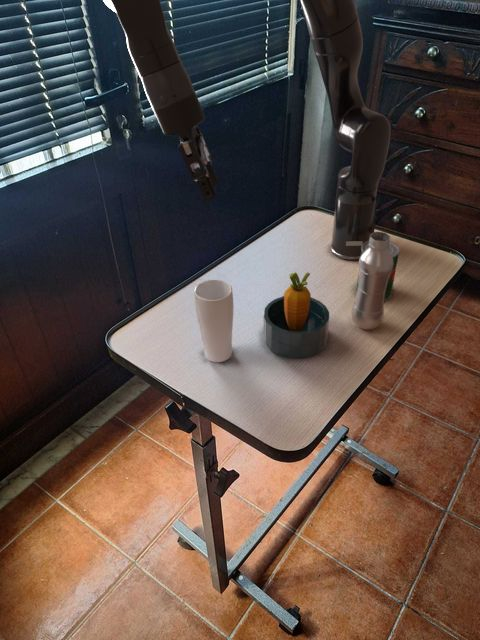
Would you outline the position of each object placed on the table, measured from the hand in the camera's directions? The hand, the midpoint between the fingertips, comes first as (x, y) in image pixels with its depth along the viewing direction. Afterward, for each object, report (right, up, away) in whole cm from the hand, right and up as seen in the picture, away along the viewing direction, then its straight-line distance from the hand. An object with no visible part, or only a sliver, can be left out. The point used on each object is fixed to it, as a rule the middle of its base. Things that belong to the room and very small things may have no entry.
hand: (212, 192), depth 93 cm
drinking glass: (0, -29, +7) cm, 30 cm away
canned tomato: (+34, -16, +23) cm, 44 cm away
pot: (+16, -26, +11) cm, 32 cm away
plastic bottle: (+30, -23, +14) cm, 41 cm away
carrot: (+16, -26, +11) cm, 32 cm away
